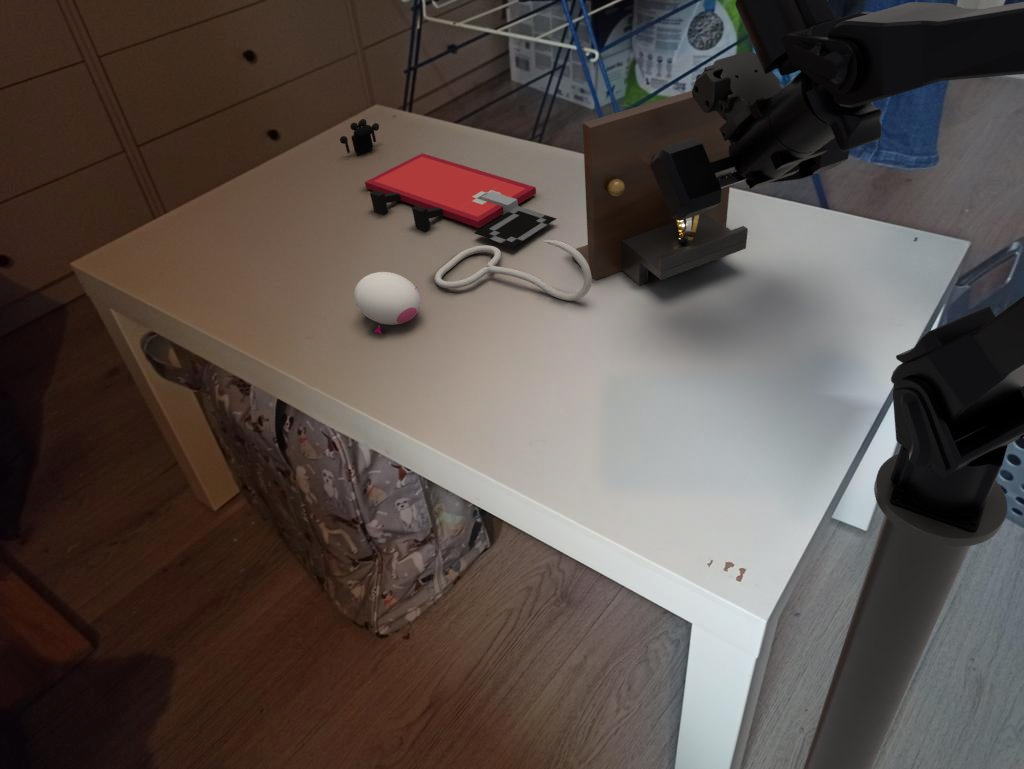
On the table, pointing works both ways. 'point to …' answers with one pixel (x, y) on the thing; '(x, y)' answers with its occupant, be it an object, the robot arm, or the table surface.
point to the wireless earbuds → (361, 137)
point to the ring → (687, 229)
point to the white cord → (516, 271)
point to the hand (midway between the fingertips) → (709, 193)
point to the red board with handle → (459, 198)
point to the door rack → (649, 192)
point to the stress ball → (387, 298)
